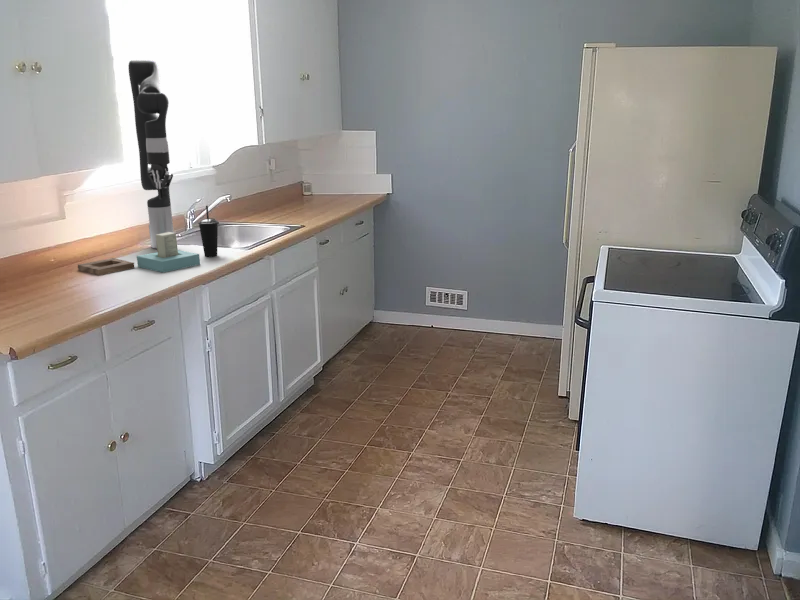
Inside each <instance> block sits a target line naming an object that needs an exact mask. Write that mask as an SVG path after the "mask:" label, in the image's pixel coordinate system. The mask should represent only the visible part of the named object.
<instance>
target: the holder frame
mask: <svg viewBox="0 0 800 600" xmlns="http://www.w3.org/2000/svg"><path fill="white" fill-rule="evenodd" d="M130 269H135V262H132V261H127V260H123V259H119V258H116V257H115V258H114V257H111V258H106V259H102V260H96V261H89V262H85V263H80V264H77V270H78V271H80V272H84V273H89V274H92V275H97V276H103V275H106V274H112V273H116V272H121V271H127V270H130Z"/></svg>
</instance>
